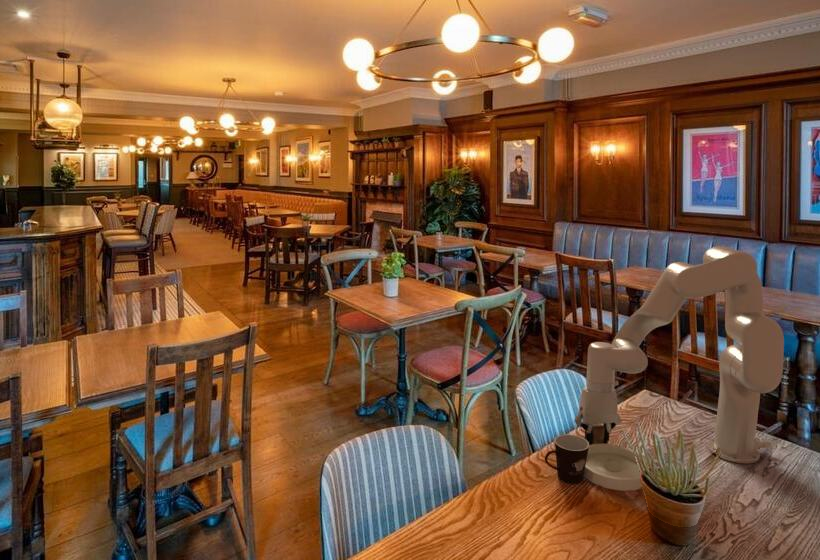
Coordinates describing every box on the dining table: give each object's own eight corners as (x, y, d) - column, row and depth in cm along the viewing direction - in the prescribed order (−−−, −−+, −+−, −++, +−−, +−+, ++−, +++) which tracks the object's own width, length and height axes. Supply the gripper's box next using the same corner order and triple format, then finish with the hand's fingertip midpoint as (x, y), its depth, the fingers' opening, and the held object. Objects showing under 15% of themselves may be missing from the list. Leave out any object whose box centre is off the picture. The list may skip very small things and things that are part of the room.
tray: (630, 452, 146) (630, 442, 145) (663, 489, 128) (664, 478, 127) (568, 454, 145) (568, 444, 144) (593, 491, 127) (593, 481, 127)
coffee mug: (582, 468, 138) (584, 434, 136) (590, 487, 129) (592, 451, 127) (539, 467, 139) (540, 433, 137) (544, 485, 130) (545, 449, 129)
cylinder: (600, 441, 152) (601, 423, 151) (605, 448, 148) (607, 429, 147) (587, 442, 152) (588, 423, 151) (592, 449, 148) (593, 430, 147)
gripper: (622, 379, 150) (618, 436, 154) (566, 381, 150) (564, 438, 153) (634, 389, 143) (630, 449, 146) (576, 391, 142) (573, 450, 146)
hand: (596, 442), depth 150 cm, fingers closed on cylinder, 4 cm apart
